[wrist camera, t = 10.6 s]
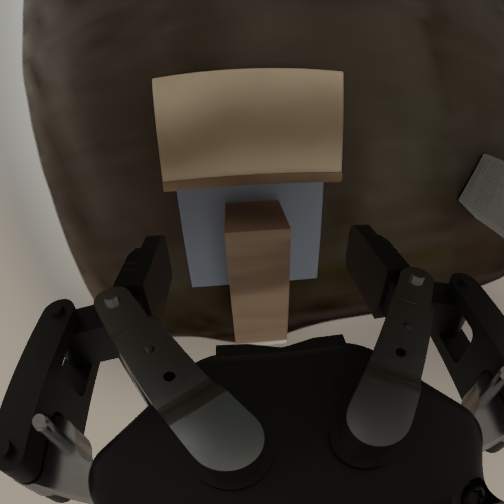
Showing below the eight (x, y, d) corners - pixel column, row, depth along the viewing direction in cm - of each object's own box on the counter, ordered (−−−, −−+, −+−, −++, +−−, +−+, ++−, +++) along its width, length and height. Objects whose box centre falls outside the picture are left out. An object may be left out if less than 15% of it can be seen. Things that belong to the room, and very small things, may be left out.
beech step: (166, 81, 17) (151, 78, 14) (323, 74, 18) (344, 71, 14) (175, 173, 21) (163, 192, 17) (322, 165, 21) (341, 181, 18)
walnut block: (224, 233, 18) (236, 346, 23) (290, 228, 18) (286, 342, 23) (225, 203, 22) (234, 306, 27) (278, 200, 22) (278, 303, 27)
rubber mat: (175, 173, 21) (174, 175, 21) (322, 165, 21) (324, 166, 21) (192, 285, 26) (192, 287, 26) (315, 276, 26) (316, 277, 26)
